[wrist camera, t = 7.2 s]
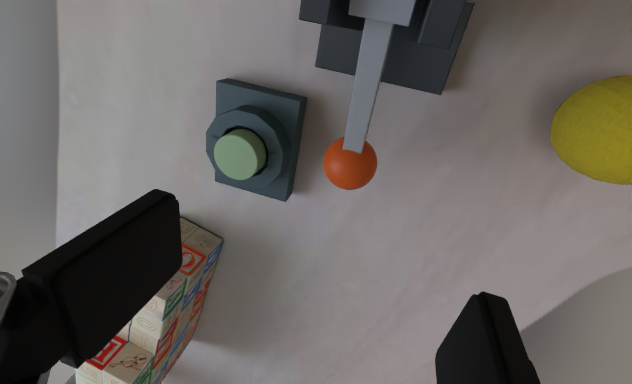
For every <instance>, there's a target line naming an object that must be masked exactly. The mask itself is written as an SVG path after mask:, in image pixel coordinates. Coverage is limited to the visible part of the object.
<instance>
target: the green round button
mask: <svg viewBox="0 0 632 384" xmlns="http://www.w3.org/2000/svg"><path fill="white" fill-rule="evenodd" d="M214 158H215V161H216V164H217V166H218V167H219V169H220V170H221V171H222V172H223V173H224V174H225V175H227V176H228V177H230V178H232V179H236V180H246V179H248V178H250V177H252V176H253V175H254V174H255V173H256V172H257V171H258V170H259V169H261V168H262V167H263V165H264V163H265V161H266V148H265V145H264V143H263V142H262V140H261V139H260V138H259V137H258V136H257V135H256V134H255V133H253V132H252V131H249V130H246V129H237V130H234V131H232V132H230V133H228V134H226V135H225V136H223V137H221V138H220V139H219V140H218V141H217V143H216V145H215V148H214Z"/></svg>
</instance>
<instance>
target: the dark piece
mask: <svg viewBox="0 0 632 384" xmlns="http://www.w3.org/2000/svg"><path fill="white" fill-rule="evenodd" d="M306 100H307V98H306V97H302V96H298V95H294V94H290V93H286V92H282V91H278V90H273V89H269V88H265V87H261V86H257V85H253V84H248V83H244V82H240V81H236V80H232V79H228V78H227V79H223V80H218V81H217V82H216V118H215V119H214V121H213V122H212V124H211V125H210V127H209V128H208V130H207V132H206V152H207V154H208V157H209V159H210V161H211V163H212V165H213V167H214V169H215V181H216V182H219V183H223V184H226V185H230V186H233V187H236V188H240V189H243V190H247V191H250V192H253V193H257V194H260V195H264V196H267V197H270V198H274V199H277V200H281V201H284V202H286V201H287V199H288V198H289V197H290V195H291V194H292V189H293V182H294V176H295V170H296V163H297V157H298V151H299V144H300V138H301V132H302V125H303V119H304V113H305V106H306ZM237 129H246V130H249V131H252V132H253V133H255V134H256V135H257V136H258V137H259V138H260V139H261V140H262V142H263V143H264V145H265V148H266V161H265V163H264V165H263V167H262V168H261V169H259V170H258V171H257V172H256V173H255V174H254V175H253V176H252V177H250V178H248V179H246V180H236V179H232V178H230V177H228V176H227V175H225V174H224V173H223V172H222V171H221V170H220V169H219V167H218V166H217V164H216V161H215V158H214V148H215V145H216V143H217V141H218V140H219V139H220V138H221V137H223V136H225V135H226V134H228V133H230V132H232V131H234V130H237Z"/></svg>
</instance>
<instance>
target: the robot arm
mask: <svg viewBox="0 0 632 384" xmlns="http://www.w3.org/2000/svg"><path fill="white" fill-rule="evenodd" d="M182 262H183V257H182V242H181V227H180V212H179V202H178V200H176V198H175V196H174V195H173V194H171V193H168V192H165V191H162V190H159V189H154V190H152V191H150V192H148V193H147V194H145V195H144V196H142V197H140V198H139V199H137V200H135V201H134V202H132V203H130V204H129V205H127V206H126V207H124V208H122V209H121V210H119V211H117V212H116V213H114V214H113V215H111V216H109V217H108V218H106V219H104V220H103V221H101V222H99V223H98V224H96V225H95V226H93V227H91V228H90V229H88V230H86V231H85V232H83V233H81V234H80V235H78V236H77V237H75V238H73V239H72V240H70V241H68V242H67V243H65V244H64V245H62V246H60V247H59V248H57V249H55V250H54V251H52V252H51V253H49V254H47V255H46V256H44V257H42V258H41V259H39V260H37V261H36V262H34V263H33V264H31V265H30V266H28V267H26V268H24V269H23V270H22V274H23V277H22V278H20V279H18V280H17V281H16V279H15V277H14V276H13V275H11V274H9V273H7V272H0V384H47V382H48V378H49V374H50V370H51V368H52V367H53V366H54V365H55V364H56V363H57V362H58V361H59V360H60V361H61V362H62V363H64V364H67V365H69V366H71V367H74V368H76V369H78V368H79V367H80V366H81V365H82V364H83V363H84V362H85V361H86V360H87V359H88V360H89V359H92V358H94V357H95V356H96V355H97V354H98V353H99V352H100V351H101V350H102V349H103V348H104V347H105V346H106V345H107V344H108V343H109V342H110V341H111V340H112V339H113V338H114V337H115V336H116V335H117V334H118V333H119V332H120V331H121V330H122V329H123V328H124V327H125V326H126V325H127V323H128V322H129V321H130V320H131V319H132V318H133V317H134V316H135V315H136V314H137V313H138V312H139V311H140V310H141V309H142V308H143V307H144V306H145V305H146V304H147V303H148V302H149V301H150V300H151V299H152V298H153V297H154V296H155V295H156V294H157V293H158V291H159V290H160V289H161V288H162V287H163V286H164V285H165V284H166V283H167V282H168V281H169V280H170V279H171V278H172V277H173V276H174V275H175V274H176V273H177V272H178V271H179V269H180V268H181V265H182ZM435 365H436V377H437V384H540V381H539V378H538V376H537V373H536V370H535V368H534V366H533V364H532V362H531V361H530V360H529V358H528V356H527V353H526V351H525V348H524V345H523V342H522V339H521V337H520V334H519V331H518V328H517V326H516V323H515V320H514V318H513V315H512V312H511V309H510V307H509V304H508V302H507V300H506V299H505V298H502V297H499V296H496V295H493V294H490V293H486V292H481V293H479V295H475V294H473V295H472V296H471V297H470V299H469V301H468V302H467V304H466V305H465V307H464V308H463V310H462V312H461V313H460V315H459V316H458V318H457V320H456V321H455V323H454V324H453V326H452V328H451V329H450V331H449V332H448V334H447V336H446V337H445V339H444V340H443V342H442V344H441V345H440V347H439V348H438V350H437V353H436V359H435Z"/></svg>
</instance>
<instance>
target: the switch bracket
mask: <svg viewBox="0 0 632 384" xmlns="http://www.w3.org/2000/svg"><path fill="white" fill-rule="evenodd" d="M475 2H476V0H416V4H415V7H414V11H413V14H412V17H411V21H410V24H409V26H403V25H398V24H395V26H394V30H393V34H392V38H391V41H390V45H389V49H388V53H387V57H386V61H385V65H384V69H383V73H382V77H381V82H385V83H390V84H394V85H399V86H403V87H407V88H412V89H416V90H421V91H425V92H430V93H434V94H438V95H441V93H442V91H443V88H444V85H445V83H446V80H447V77H448V75H449V72H450V69H451V66H452V64H453V61H454V58H455V56H456V53H457V50H458V47H459V45H460V42H461V39H462V37H463V34H464V31H465V28H466V26H467V23H468V20H469V18H470V15H471V12H472V10H473V7H474V4H475ZM349 3H350V0H301V6H300V13H299V19H300V20H303V21H308V22H313V23H318V24H322V27H321V33H320V39H319V45H318V51H317V58H316V64H315V67H319V68H323V69H328V70H332V71H336V72H341V73H345V74H350V75H354V76H355V74H356V68H357V63H358V57H359V51H360V46H361V40H362V34H363V29H364V23H365V18H362V17H357V16H352V15H349V14H348V10H349Z"/></svg>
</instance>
